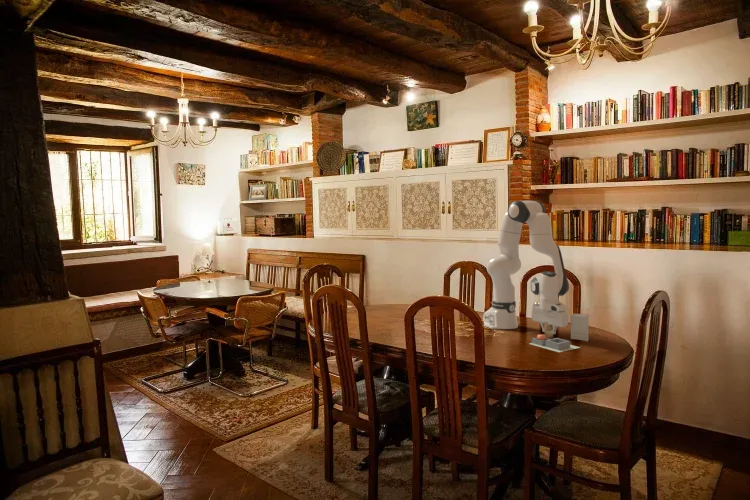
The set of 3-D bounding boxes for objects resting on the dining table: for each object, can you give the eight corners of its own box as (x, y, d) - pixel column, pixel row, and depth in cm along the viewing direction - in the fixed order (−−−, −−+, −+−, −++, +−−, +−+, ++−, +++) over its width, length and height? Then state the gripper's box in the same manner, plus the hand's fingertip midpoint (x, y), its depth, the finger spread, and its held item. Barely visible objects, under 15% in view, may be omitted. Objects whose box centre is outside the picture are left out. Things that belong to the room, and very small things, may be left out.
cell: (542, 339, 258) (542, 320, 257) (548, 338, 260) (548, 319, 259) (549, 340, 254) (549, 321, 253) (555, 339, 256) (555, 320, 255)
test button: (535, 340, 245) (535, 335, 244) (541, 338, 247) (541, 333, 246) (542, 341, 241) (542, 336, 241) (548, 340, 243) (548, 335, 243)
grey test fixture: (528, 346, 245) (528, 337, 244) (549, 342, 251) (549, 333, 251) (559, 355, 229) (559, 345, 229) (580, 350, 236) (580, 340, 235)
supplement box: (588, 339, 254) (589, 314, 253) (586, 343, 248) (586, 317, 247) (572, 338, 258) (573, 313, 257) (570, 341, 252) (570, 315, 251)
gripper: (528, 302, 263) (528, 329, 264) (561, 308, 245) (560, 337, 246) (537, 301, 266) (537, 328, 267) (570, 307, 248) (570, 335, 249)
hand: (549, 332), depth 257 cm, fingers closed on cell, 4 cm apart
